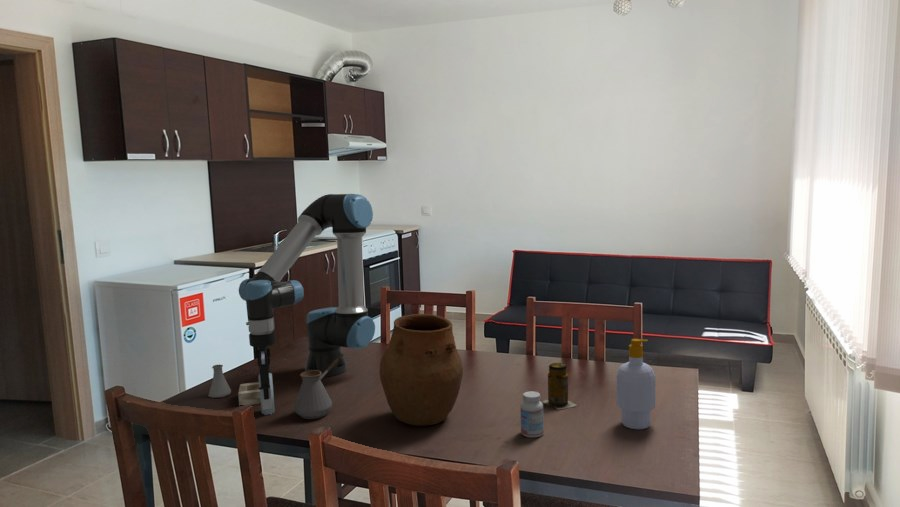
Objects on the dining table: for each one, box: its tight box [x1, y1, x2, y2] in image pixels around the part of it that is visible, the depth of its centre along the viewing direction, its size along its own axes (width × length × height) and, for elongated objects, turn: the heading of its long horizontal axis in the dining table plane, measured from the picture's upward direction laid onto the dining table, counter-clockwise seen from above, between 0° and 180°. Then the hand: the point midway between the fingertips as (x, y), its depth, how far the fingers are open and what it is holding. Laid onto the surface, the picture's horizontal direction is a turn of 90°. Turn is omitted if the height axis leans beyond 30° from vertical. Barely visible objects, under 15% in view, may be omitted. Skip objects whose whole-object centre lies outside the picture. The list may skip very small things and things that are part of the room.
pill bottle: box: [520, 390, 545, 439], centre depth 175 cm, size 6×6×11 cm
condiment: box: [541, 362, 578, 411], centre depth 196 cm, size 7×8×12 cm
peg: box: [257, 372, 276, 416], centre depth 198 cm, size 4×4×12 cm
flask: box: [208, 364, 232, 399], centre depth 216 cm, size 7×7×10 cm
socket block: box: [237, 381, 261, 407], centre depth 211 cm, size 10×10×4 cm
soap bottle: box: [616, 338, 657, 430], centre depth 177 cm, size 10×10×24 cm
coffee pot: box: [293, 353, 348, 420], centre depth 199 cm, size 21×12×15 cm, turn 149°
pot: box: [379, 313, 464, 427], centre depth 186 cm, size 24×24×30 cm
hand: (267, 405), depth 199 cm, fingers closed on peg, 4 cm apart
